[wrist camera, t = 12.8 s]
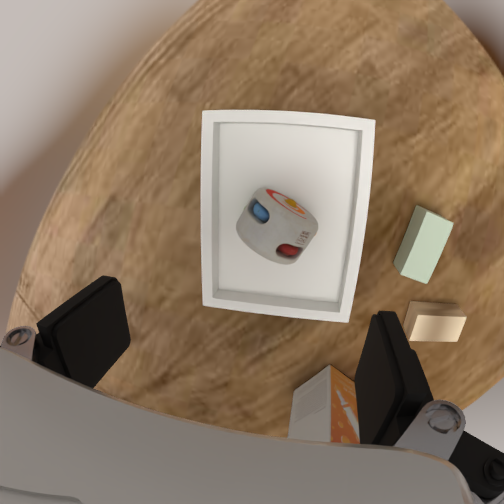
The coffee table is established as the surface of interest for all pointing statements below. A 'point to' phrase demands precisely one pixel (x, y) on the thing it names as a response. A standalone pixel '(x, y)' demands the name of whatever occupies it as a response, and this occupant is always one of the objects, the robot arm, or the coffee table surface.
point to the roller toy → (276, 226)
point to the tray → (295, 187)
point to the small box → (325, 409)
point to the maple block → (433, 321)
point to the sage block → (422, 244)
